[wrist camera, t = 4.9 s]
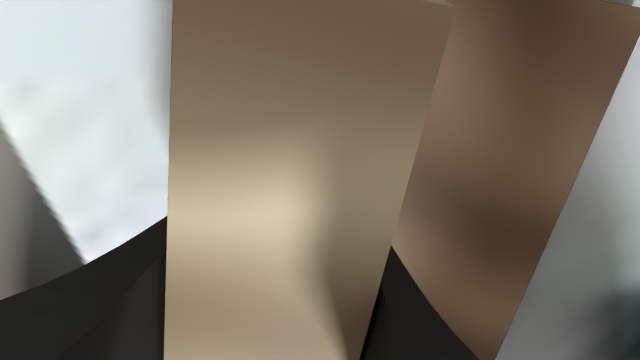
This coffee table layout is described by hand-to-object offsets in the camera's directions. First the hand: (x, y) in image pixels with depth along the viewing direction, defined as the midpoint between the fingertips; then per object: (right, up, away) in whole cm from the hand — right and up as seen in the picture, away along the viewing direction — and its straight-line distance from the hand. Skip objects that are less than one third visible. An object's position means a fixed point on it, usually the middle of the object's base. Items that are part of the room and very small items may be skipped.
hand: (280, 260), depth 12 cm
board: (+4, +2, +5) cm, 7 cm away
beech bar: (0, +1, +1) cm, 2 cm away
